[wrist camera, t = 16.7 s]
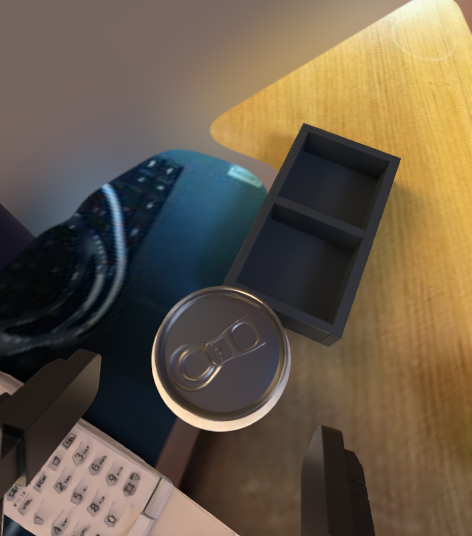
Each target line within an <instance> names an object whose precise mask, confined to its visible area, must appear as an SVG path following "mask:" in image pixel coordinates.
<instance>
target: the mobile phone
mask: <svg viewBox="0 0 472 536" xmlns="http://www.w3.org/2000/svg"><path fill="white" fill-rule="evenodd" d="M23 385H24V383H22V382H21V381H19V380H17V379H16V378H14V377H12V376H11V375H9V374H6V373H3V372H2V371H0V405H1V404H2V403H3V402H4V401H6V400H7V399H8V398H9V397H10V396H11V395H12V394H13V393H14V392H16V391H17V390H18V389H19V388H20V387H21V386H23ZM4 514H5V515H7V516H8V517H9V518H11V519H12V520H14V521H15V522H17V523H18V524H20V525H21V526H22V527H24V528H25V529H27V530H28V531H30V532H32V533H33V534H35V535H36V536H239V535H238V534H237V533H235V532H234V531H233V530H231V529H230V528H229V527H227V526H226V525H225V524H223V523H222V522H221V521H219V520H218V519H217V518H215V517H214V516H213V515H211V514H210V513H209V512H207V511H206V510H205V509H203V508H202V507H201V506H199V505H198V504H197V503H195V502H194V501H193V500H191V499H190V498H189V497H187V496H186V495H185V494H183V493H182V492H181V491H179V490H178V489H177V488H175V487H174V486H173V484H172V480H170V479H169V478H168V477H166V476H165V475H163V474H161V473H160V472H159V471H157V470H156V469H154V468H153V467H151V466H150V465H148V464H147V463H146V462H145V461H144V460H143V459H142V458H140V457H139V456H137V455H136V454H134V453H133V452H131V451H130V450H129V449H127V448H126V447H124V446H123V445H121V444H120V443H118V442H117V441H116V440H114V439H113V438H111V437H110V436H108V435H107V434H105V433H104V432H102V431H100V430H99V429H97V428H96V427H94V426H93V425H91V424H90V423H88V422H87V421H85V420H83V419H82V418H80V419H79V421H78V422H77V423H76V425H75V426H74V427H73V428H72V430H71V431H70V432H69V434H68V435H67V436H66V437H65V439H64V440H63V441H62V443H61V444H60V445H59V446H58V448H57V449H56V450H55V452H54V453H53V454H52V455H51V457H50V458H49V459H48V461H47V462H46V463H45V464H44V466H43V467H42V468H41V470H40V471H39V472H38V473H37V475H36V476H35V477H34V479H33V480H32V481H31V482H30V484H29V485H28V486H27V488H26V487H24V486H21V485H18V484H15V483H14V484H13V485H12V487H11V488H10V489H9V490H8V492H7V493H6V494H5V501H4Z"/></svg>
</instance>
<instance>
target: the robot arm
mask: <svg viewBox="0 0 472 536" xmlns="http://www.w3.org/2000/svg"><path fill="white" fill-rule="evenodd" d="M100 366H101V355H100V354H96V353H93V352H90V351H87V350H84V349H78V350H77V351H76V352H75V353H74V354H72V355H71V356H70V357H69V358H68V359H67V360H65V359H61V358H59V359H57V360H55V361H53V362H50V363H48V364H46V365H44V366H43V367H42V368H41V369H40V370H39V371H38V372H37V373H36V374H34V375H33V377H31V378H30V379H29V380H28V381H27V382H26V383H24V385H23V386H21V387H20V388H19V389H18V390H17V391H16V392H14V393H13V394H12V395H11V396H10V397H9V398H8V399H7V400H6V401H4V402H3V403H2V404H1V405H0V536H2V530H3V516H4V501H5V494H6V493H7V492H8V490H9V489H10V488H11V487H12V485H13V484H14V483H15V484H18V485H21V486H24V487H26V488H27V486H28V485H29V484H30V482H31V481H32V480H33V479H34V477H35V476H36V475H37V473H38V472H39V471H40V470H41V468H42V467H43V466H44V464H45V463H46V462H47V461H48V459H49V458H50V457H51V455H52V454H53V453H54V452H55V450H56V449H57V448H58V446H59V445H60V444H61V443H62V441H63V440H64V439H65V437H66V436H67V435H68V434H69V432H70V431H71V430H72V428H73V427H74V426H75V425H76V423H77V422H78V421H79V419H80V418H81V417H82V416H83V414H84V413H85V412H86V410H87V409H88V408H89V407H90V405H91V404H92V402H93V400H94V398H95V396H96V394H97V391H98V386H99V376H100ZM365 484H366V483H365V477H364V472H363V467H362V465H361V464H360V462H359V460H358V458H357V457H356V455H355V453H354V452H352V451H349V450H346V449H344V442H343V435H342V432H341V431H340V430H337V429H333V428H330V427H327V426H324V425H321V424H319V425H318V426H317V428H316V430H315V433H314V435H313V437H312V439H311V442H310V444H309V446H308V449H307V451H306V453H305V456H304V459H303V464H302V472H301V536H375V531H374V526H373V521H372V515H371V510H370V504H369V500H368V494H367V488H366V486H365Z"/></svg>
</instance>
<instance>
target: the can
mask: <svg viewBox="0 0 472 536" xmlns="http://www.w3.org/2000/svg"><path fill="white" fill-rule="evenodd" d="M290 365H291V353H290V346H289V342H288V338H287V335H286V332H285V330H284V328H283V326H282V324H281V322H280V320H279V318H278V317H277V315H276V314H275V312H274V311H273V310H272V309H271V307H270V306H269V305H268V304H267V303H265V302H264V301H263V300H262V299H260V298H259V297H257V296H256V295H254V294H252V293H250V292H248V291H246V290H243V289H239V288H235V287H229V286H215V287H209V288H204V289H201V290H198V291H196V292H194V293H192V294H190V295H188V296H186V297H185V298H183V299H182V300H181V301H179V302H178V303H177V304H176V305H175V306H174V307H173V308H172V309H171V310H170V312H169V313H168V314H167V316H166V317H165V319H164V320H163V322H162V324H161V326H160V328H159V330H158V332H157V335H156V338H155V341H154V345H153V350H152V371H153V376H154V380H155V384H156V386H157V389H158V391H159V393H160V395H161V397H162V399H163V400H164V402H165V403H166V404H167V406H168V407H169V408H170V409H171V410H172V411H173V412H174V413H175V414H176V415H177V416H178V417H180V418H181V419H182V420H184V421H185V422H187V423H189V424H191V425H193V426H195V427H198V428H201V429H205V430H210V431H231V430H236V429H240V428H243V427H246V426H248V425H250V424H252V423H254V422H256V421H257V420H259V419H260V418H262V417H263V416H264V415H266V414H267V413H268V412H269V411H270V410H271V409H272V408H273V406H274V405H275V404H276V403H277V401H278V400H279V398H280V396H281V395H282V393H283V391H284V389H285V386H286V384H287V381H288V377H289V373H290Z"/></svg>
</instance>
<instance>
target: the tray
mask: <svg viewBox="0 0 472 536" xmlns="http://www.w3.org/2000/svg"><path fill="white" fill-rule="evenodd" d="M400 160H401V158H399V157H396V156H393V155H390V154H388V153H385V152H382V151H379V150H377V149H374V148H371V147H368V146H366V145H363V144H360V143H357V142H355V141H352V140H349V139H347V138H344V137H341V136H338V135H336V134H333V133H330V132H327V131H325V130H322V129H319V128H316V127H314V126H311V125H308V124H305V123H303V125H302V127H301V129H300V131H299V133H298V135H297V137H296V139H295V141H294V143H293V145H292V147H291V149H290V151H289V153H288V155H287V157H286V159H285V161H284V163H283V165H282V167H281V169H280V171H279V173H278V175H277V177H276V179H275V181H274V183H273V185H272V187H271V189H270V191H269V193H268V195H267V197H266V199H265V201H264V203H263V205H262V207H261V209H260V211H259V213H258V215H257V217H256V219H255V221H254V223H253V225H252V227H251V229H250V231H249V233H248V235H247V237H246V239H245V241H244V243H243V245H242V247H241V249H240V251H239V253H238V255H237V257H236V259H235V261H234V263H233V265H232V267H231V269H230V271H229V273H228V275H227V277H226V279H225V281H224V283H223V284H222V286H229V287H235V288H239V289H243V290H246V291H248V292H250V293H252V294H254V295H256V296H257V297H259V298H260V299H262V300H263V301H264V302H265V303H267V304H268V305H269V306H270V307H271V309H272V310H273V311H274V312H275V314H276V315H277V317H278V318H279V320H280V322H281V324H282V326H284V327H286V328H288V329H291V330H293V331H295V332H297V333H300V334H302V335H304V336H306V337H309V338H311V339H313V340H315V341H317V342H320V343H322V344H324V345H326V346H330V345H332V344H333V343H335V342H336V341H338V340H340V339H341V336H342V333H343V330H344V327H345V324H346V321H347V318H348V315H349V312H350V309H351V306H352V303H353V300H354V297H355V294H356V291H357V288H358V285H359V282H360V279H361V276H362V273H363V270H364V267H365V264H366V261H367V258H368V255H369V252H370V249H371V246H372V243H373V240H374V237H375V234H376V232H377V229H378V226H379V223H380V220H381V217H382V214H383V211H384V208H385V205H386V202H387V199H388V196H389V193H390V190H391V187H392V184H393V181H394V178H395V175H396V172H397V169H398V166H399V163H400Z"/></svg>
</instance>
